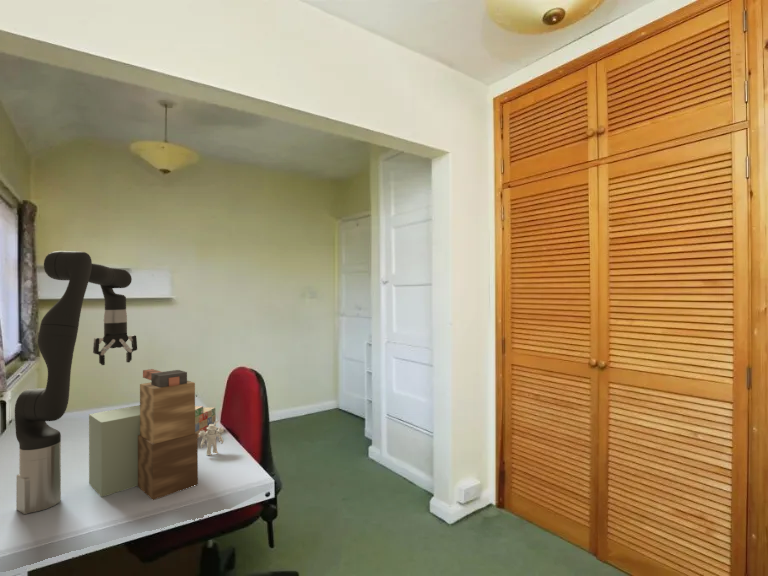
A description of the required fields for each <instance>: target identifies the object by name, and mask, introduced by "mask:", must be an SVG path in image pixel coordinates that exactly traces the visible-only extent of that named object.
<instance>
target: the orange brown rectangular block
mask: <svg viewBox="0 0 768 576" xmlns="http://www.w3.org/2000/svg"><path fill="white" fill-rule="evenodd" d="M142 378H143V379H147V380H148V381H150V382H151V385H154V386H157V387H159V388H161V387H167V386H175V385H180V384H186V383H187V381H188V371H184V370H180V369H175V370H174V369H173V370H166V371H160V370H157V369H155V368H150V369H149V368H148V369H142Z"/></svg>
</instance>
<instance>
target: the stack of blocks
mask: <svg viewBox="0 0 768 576" xmlns="http://www.w3.org/2000/svg"><path fill="white" fill-rule="evenodd" d="M216 419H217V415H216V407H204V406H203V405H195V433H197V435H198V438H199V437H200V436H199V433H200V431H205V433H206V431H207V430H208V429H207V427H208V426H209V424H214V422H216V421H217V420H216ZM216 425H217V424H216ZM216 425H215V427H217V426H216Z"/></svg>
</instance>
